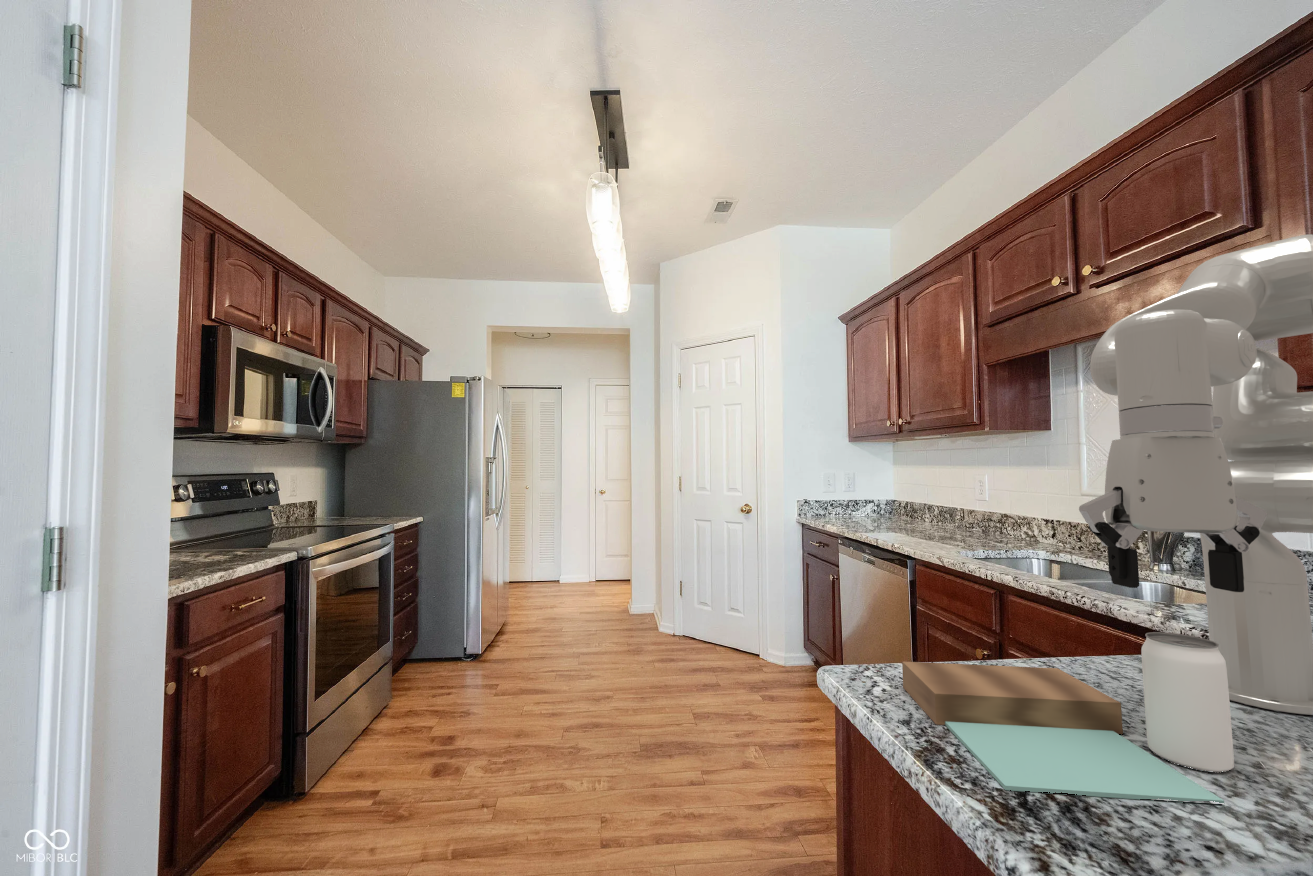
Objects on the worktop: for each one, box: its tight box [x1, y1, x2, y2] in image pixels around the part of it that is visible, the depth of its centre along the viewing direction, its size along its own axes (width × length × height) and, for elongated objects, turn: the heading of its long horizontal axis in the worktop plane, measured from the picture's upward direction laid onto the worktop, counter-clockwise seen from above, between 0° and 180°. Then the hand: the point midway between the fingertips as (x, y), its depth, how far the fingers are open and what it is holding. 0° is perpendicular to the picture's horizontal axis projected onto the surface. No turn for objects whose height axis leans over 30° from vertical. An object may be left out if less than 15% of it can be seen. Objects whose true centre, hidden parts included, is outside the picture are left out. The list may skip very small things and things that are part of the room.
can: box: [1140, 631, 1235, 774], centre depth 57 cm, size 6×6×12 cm
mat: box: [944, 721, 1226, 805], centre depth 56 cm, size 18×14×1 cm
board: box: [901, 661, 1124, 735], centre depth 69 cm, size 20×12×4 cm, turn 83°
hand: (1175, 587), depth 58 cm, fingers open, 9 cm apart
